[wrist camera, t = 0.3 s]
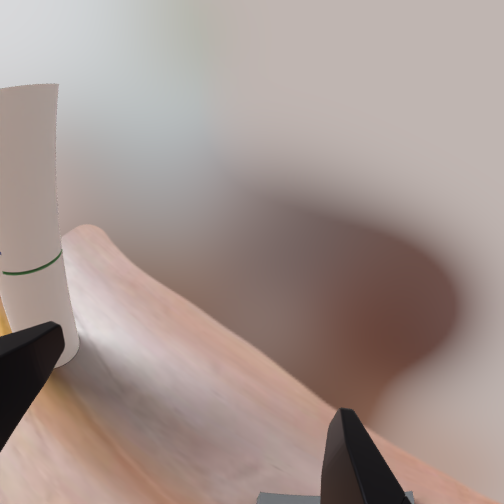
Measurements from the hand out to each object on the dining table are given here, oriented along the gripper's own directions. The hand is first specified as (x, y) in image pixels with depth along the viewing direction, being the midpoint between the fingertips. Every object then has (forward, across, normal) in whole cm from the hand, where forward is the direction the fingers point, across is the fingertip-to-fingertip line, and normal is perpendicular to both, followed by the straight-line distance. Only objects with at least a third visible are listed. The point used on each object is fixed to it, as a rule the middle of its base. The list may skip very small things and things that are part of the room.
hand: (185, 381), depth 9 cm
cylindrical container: (+12, +19, +16) cm, 28 cm away
